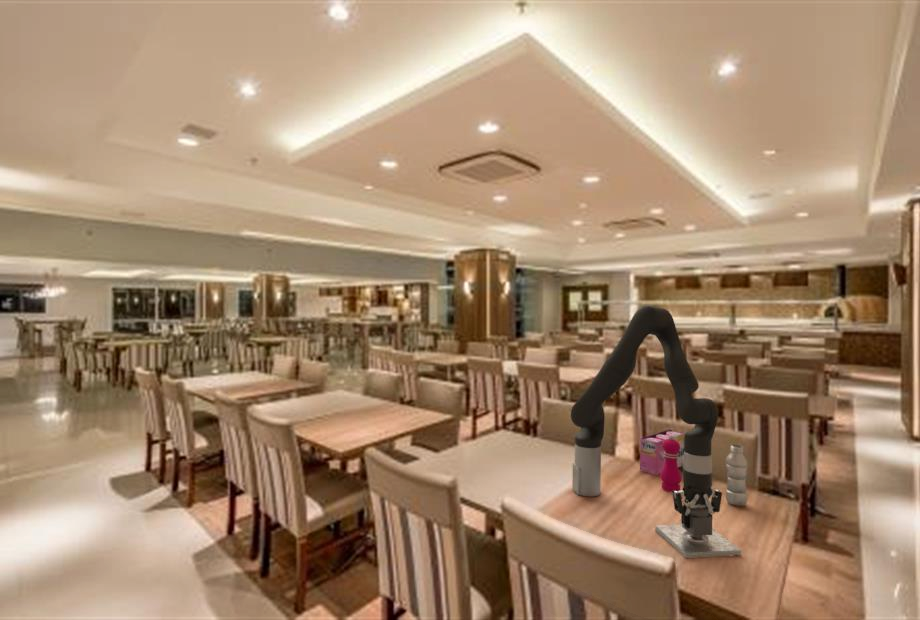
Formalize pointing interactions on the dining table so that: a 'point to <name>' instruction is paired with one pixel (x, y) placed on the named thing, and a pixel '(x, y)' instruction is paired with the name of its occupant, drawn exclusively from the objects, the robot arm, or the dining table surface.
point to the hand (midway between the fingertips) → (696, 526)
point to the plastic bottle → (736, 476)
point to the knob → (699, 521)
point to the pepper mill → (671, 466)
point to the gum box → (658, 451)
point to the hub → (697, 542)
